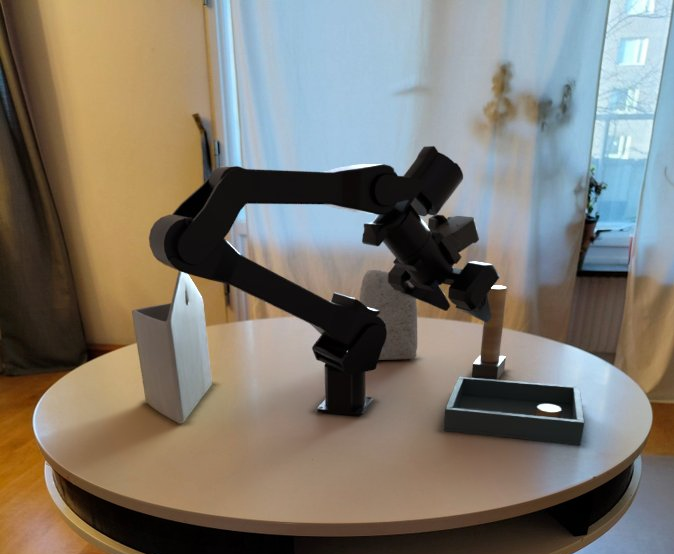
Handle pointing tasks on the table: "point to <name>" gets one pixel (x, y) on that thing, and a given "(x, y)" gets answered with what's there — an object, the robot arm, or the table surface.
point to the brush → (492, 338)
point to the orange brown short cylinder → (548, 410)
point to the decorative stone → (392, 315)
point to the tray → (514, 410)
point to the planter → (174, 351)
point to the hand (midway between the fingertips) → (467, 314)
